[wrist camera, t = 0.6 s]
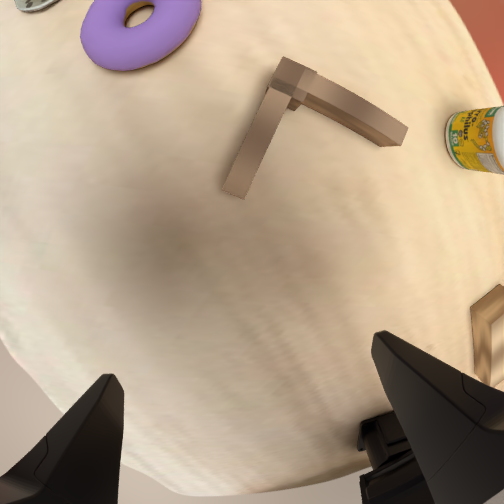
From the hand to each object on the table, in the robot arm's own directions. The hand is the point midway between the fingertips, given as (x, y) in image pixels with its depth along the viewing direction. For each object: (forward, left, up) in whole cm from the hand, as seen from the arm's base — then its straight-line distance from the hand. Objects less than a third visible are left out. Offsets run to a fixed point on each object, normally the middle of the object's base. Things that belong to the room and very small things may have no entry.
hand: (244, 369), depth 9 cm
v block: (+9, -5, -15) cm, 18 cm away
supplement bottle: (+7, -21, -15) cm, 27 cm away
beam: (-15, -27, -15) cm, 34 cm away
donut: (+20, +5, -15) cm, 25 cm away
